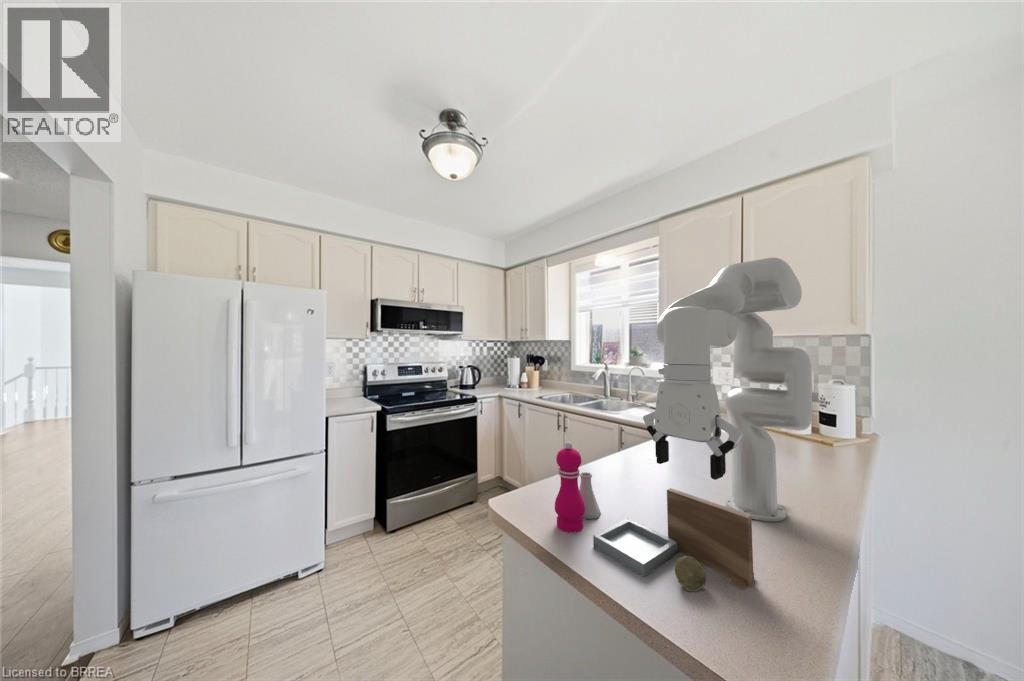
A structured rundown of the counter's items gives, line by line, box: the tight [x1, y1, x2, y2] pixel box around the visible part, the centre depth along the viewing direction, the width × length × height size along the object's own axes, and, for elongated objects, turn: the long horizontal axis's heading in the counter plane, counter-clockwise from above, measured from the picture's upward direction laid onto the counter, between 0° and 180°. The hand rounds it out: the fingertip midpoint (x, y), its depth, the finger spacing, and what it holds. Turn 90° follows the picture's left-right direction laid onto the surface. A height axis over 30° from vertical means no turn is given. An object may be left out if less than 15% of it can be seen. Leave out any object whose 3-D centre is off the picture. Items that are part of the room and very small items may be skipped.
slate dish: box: [592, 518, 678, 578], centre depth 70 cm, size 12×12×2 cm
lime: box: [673, 555, 707, 592], centre depth 59 cm, size 4×5×5 cm
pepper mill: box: [554, 441, 585, 534], centre depth 80 cm, size 7×7×20 cm
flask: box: [579, 471, 602, 520], centre depth 86 cm, size 7×7×10 cm
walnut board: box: [666, 487, 755, 590], centre depth 65 cm, size 5×15×12 cm, turn 35°
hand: (688, 469), depth 60 cm, fingers open, 9 cm apart
